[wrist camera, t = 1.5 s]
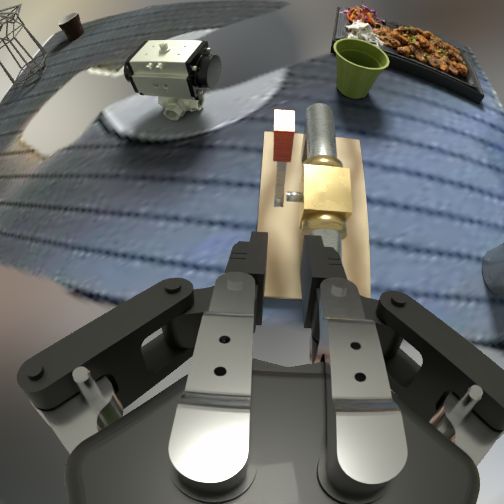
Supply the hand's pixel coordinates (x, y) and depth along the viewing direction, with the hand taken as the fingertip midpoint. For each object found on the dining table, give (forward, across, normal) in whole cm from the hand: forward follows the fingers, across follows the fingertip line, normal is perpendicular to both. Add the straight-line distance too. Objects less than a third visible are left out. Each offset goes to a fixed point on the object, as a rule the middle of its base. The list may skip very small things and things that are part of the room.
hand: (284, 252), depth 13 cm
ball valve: (+52, +21, -6) cm, 57 cm away
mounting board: (+36, -6, +11) cm, 38 cm away
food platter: (+76, -37, -28) cm, 89 cm away
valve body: (+35, -5, +9) cm, 36 cm away
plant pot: (+59, -16, -12) cm, 62 cm away
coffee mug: (+90, +78, -43) cm, 127 cm away
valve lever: (+28, 0, +7) cm, 29 cm away
